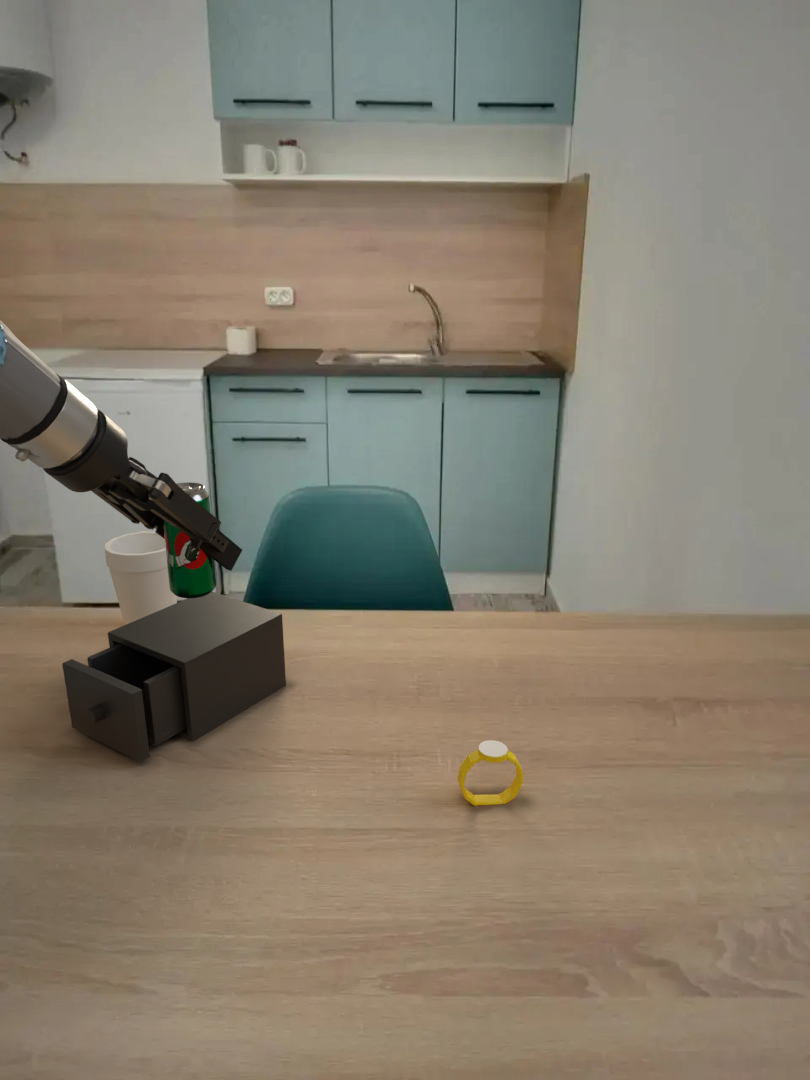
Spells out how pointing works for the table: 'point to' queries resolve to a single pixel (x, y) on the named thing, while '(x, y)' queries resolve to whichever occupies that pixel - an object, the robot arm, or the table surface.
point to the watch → (493, 754)
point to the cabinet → (213, 655)
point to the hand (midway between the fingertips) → (216, 554)
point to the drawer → (125, 699)
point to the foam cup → (139, 574)
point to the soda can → (189, 555)
